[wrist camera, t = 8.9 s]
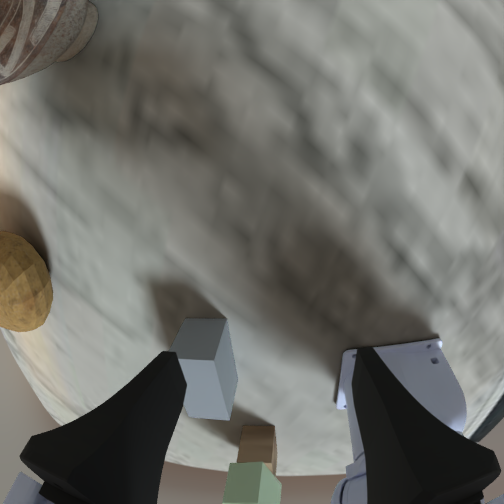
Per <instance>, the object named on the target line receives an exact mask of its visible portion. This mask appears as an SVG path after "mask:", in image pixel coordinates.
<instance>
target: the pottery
mask: <svg viewBox="0 0 504 504" xmlns="http://www.w3.org/2000/svg"><path fill="white" fill-rule="evenodd" d="M97 22H98V11H97V9H96V7H95V5H94V4H93V3H91V2H89V1H88V0H0V85H2V84H5V83H10V82H13V81H16V80H19V79H21V78H24V77H27V76H29V75H32V74H34V73H36V72H38V71H40V70H43V69H45V68H47V67H48V66H50V65H51V64H52V63H54V62H63V61H67V60H69V59H71V58H72V57H74V56H75V55H76V54H78V53H79V52H80V51H81V50H82V49H83V48H84V47H85V46H86V44H87V43H88V41H89V40H90V39H91V37H92V35H93V33H94V31H95V28H96V25H97Z"/></svg>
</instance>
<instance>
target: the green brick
mask: <svg viewBox="0 0 504 504" xmlns="http://www.w3.org/2000/svg"><path fill="white" fill-rule="evenodd" d="M280 498H281V483H280V482H279V481H278V480H277V478H276V477H275V476H274V475H273V474H272V472H271V471H270V470H269V469H268V468H267V466H266V465H265V464H264V463H263V462H246V463H230V466H229V471H228V476H227V481H226V486H225V491H224V497H223V502H222V503H223V504H280Z"/></svg>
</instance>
